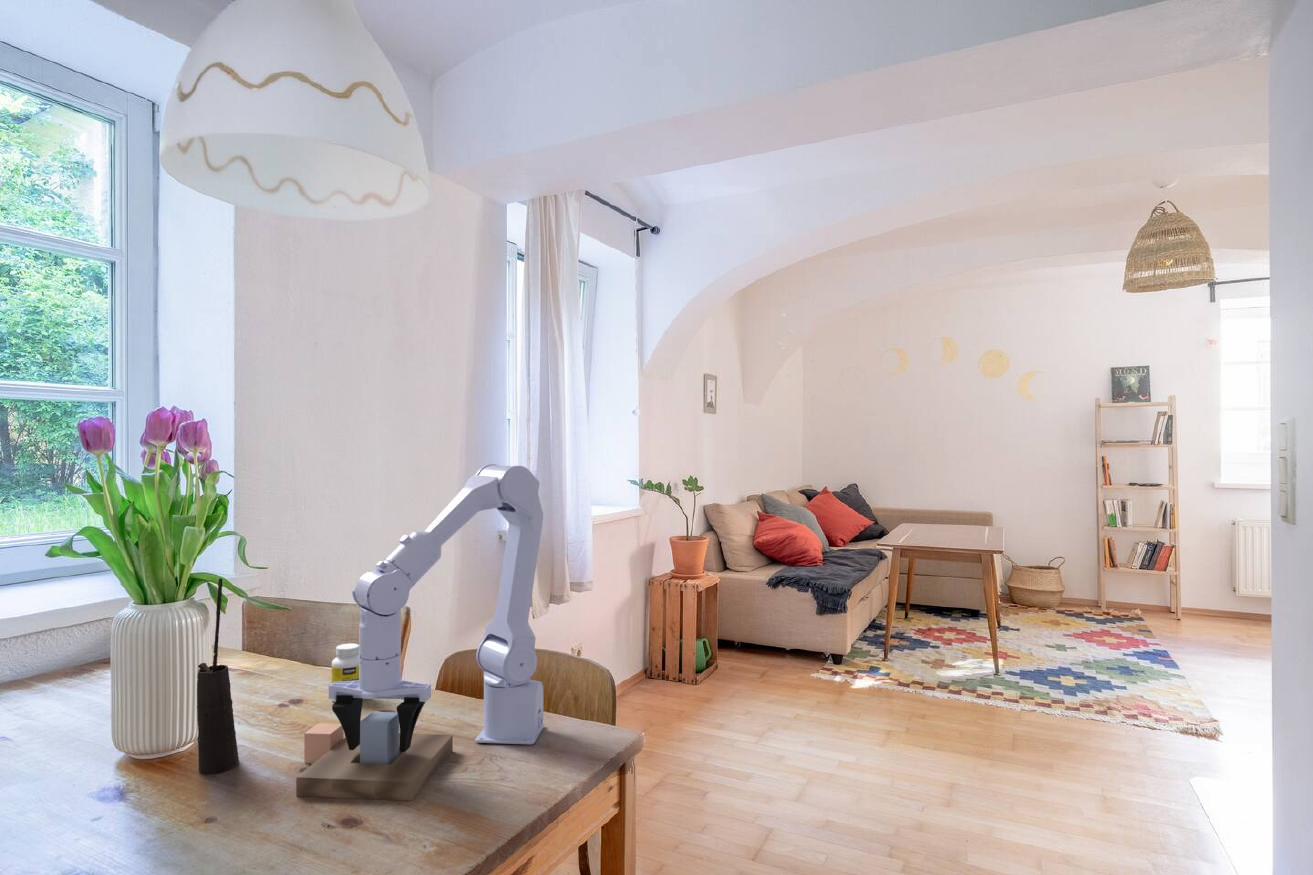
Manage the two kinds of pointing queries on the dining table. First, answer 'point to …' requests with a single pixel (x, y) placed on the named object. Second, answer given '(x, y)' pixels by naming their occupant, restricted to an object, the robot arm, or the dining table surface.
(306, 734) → the short pin
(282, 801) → the dining table surface
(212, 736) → the butter churn
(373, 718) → the tall pin
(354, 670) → the supplement bottle
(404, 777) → the hole board
